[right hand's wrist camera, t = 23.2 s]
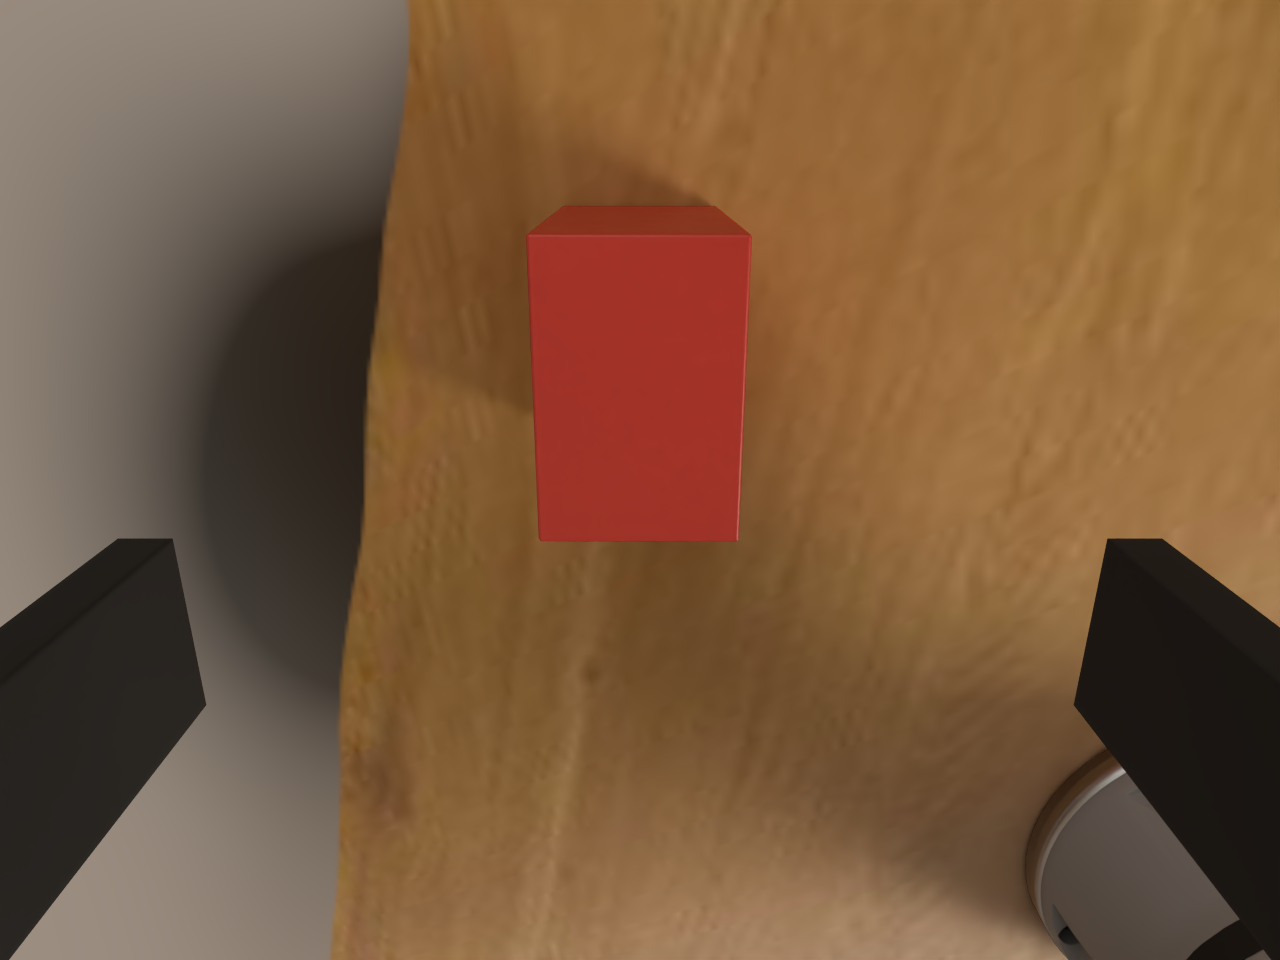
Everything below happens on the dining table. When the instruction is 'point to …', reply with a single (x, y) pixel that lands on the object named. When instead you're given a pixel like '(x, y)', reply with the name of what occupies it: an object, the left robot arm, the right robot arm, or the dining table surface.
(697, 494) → the brick
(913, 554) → the dining table surface
